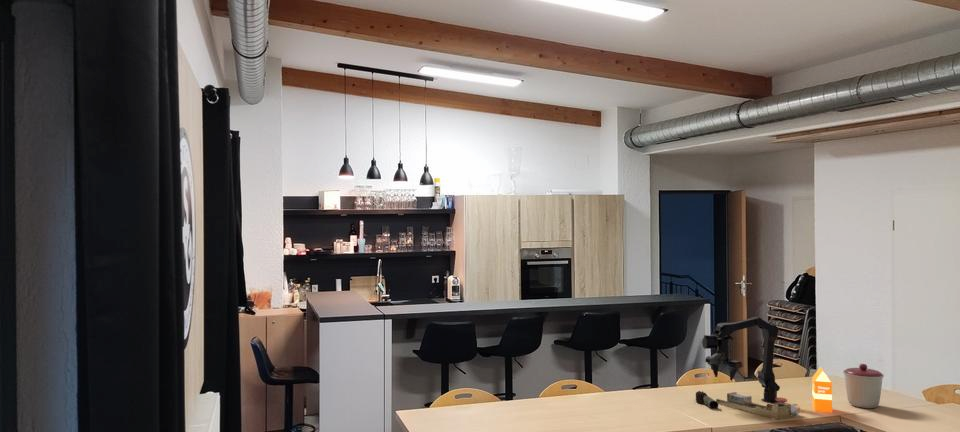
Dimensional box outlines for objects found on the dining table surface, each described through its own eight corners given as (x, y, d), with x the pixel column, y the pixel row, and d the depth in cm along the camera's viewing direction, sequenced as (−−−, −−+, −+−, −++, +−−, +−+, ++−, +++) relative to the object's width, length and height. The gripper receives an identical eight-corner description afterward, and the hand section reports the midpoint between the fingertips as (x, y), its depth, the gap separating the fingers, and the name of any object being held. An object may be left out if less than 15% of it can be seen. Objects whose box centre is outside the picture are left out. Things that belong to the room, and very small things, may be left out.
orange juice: (829, 407, 338) (829, 367, 338) (832, 412, 329) (832, 371, 330) (812, 406, 340) (811, 366, 341) (814, 411, 332) (814, 370, 332)
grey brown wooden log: (718, 409, 336) (718, 398, 336) (705, 409, 336) (705, 398, 336) (704, 399, 354) (704, 389, 354) (691, 400, 353) (691, 389, 353)
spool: (734, 403, 346) (734, 391, 347) (751, 407, 338) (751, 396, 338) (727, 404, 343) (727, 393, 343) (744, 409, 335) (744, 397, 335)
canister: (888, 405, 342) (888, 363, 342) (879, 412, 329) (879, 369, 329) (848, 399, 354) (848, 358, 354) (838, 406, 341) (838, 364, 341)
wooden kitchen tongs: (736, 398, 355) (736, 381, 355) (800, 415, 324) (800, 397, 324) (716, 403, 347) (716, 385, 347) (779, 420, 316) (779, 401, 316)
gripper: (698, 347, 352) (698, 377, 352) (728, 352, 336) (729, 384, 336) (712, 344, 358) (712, 374, 358) (743, 350, 342) (743, 381, 342)
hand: (723, 378), depth 348 cm, fingers open, 9 cm apart
